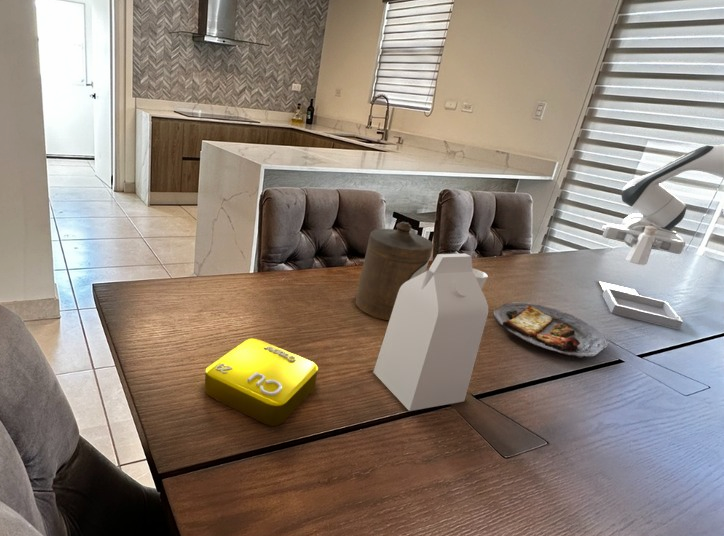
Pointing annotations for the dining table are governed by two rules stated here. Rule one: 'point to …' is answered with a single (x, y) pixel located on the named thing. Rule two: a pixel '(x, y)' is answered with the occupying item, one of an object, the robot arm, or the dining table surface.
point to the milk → (434, 335)
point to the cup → (480, 277)
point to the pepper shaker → (642, 247)
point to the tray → (642, 308)
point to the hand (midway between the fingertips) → (644, 244)
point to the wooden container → (390, 267)
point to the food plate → (550, 329)
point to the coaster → (616, 288)
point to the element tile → (261, 381)
